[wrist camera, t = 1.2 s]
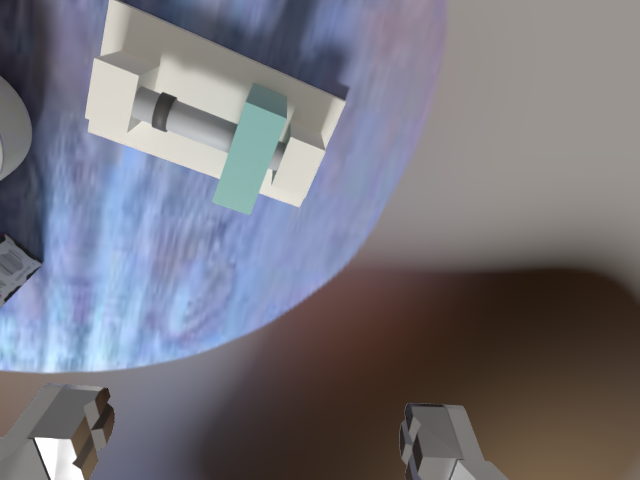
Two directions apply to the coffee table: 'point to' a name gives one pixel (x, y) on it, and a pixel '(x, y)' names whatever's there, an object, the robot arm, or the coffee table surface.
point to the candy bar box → (14, 267)
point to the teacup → (13, 129)
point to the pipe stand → (199, 101)
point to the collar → (251, 149)
